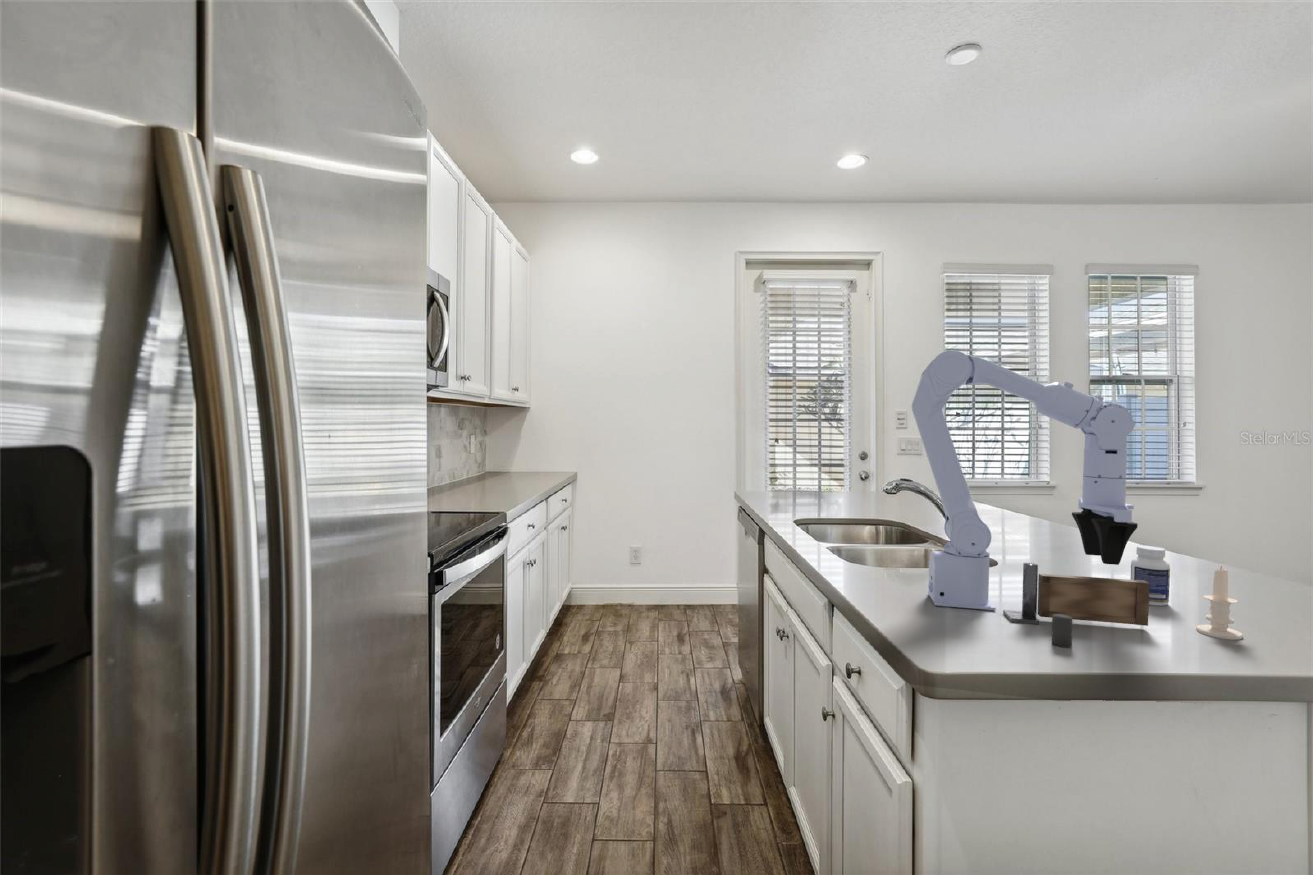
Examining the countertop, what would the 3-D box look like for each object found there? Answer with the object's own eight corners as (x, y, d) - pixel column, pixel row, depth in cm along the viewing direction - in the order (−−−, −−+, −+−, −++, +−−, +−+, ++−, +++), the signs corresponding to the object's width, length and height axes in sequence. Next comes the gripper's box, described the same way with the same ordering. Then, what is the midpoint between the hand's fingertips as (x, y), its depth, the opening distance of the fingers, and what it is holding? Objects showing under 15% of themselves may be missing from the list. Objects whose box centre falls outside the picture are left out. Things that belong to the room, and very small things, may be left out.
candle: (1188, 630, 94) (1191, 563, 94) (1207, 626, 96) (1209, 560, 96) (1231, 642, 90) (1234, 571, 89) (1250, 637, 92) (1252, 568, 91)
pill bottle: (1176, 607, 106) (1178, 551, 105) (1140, 605, 107) (1142, 550, 106) (1157, 598, 111) (1159, 545, 111) (1123, 596, 112) (1125, 543, 112)
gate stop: (1055, 646, 87) (1056, 618, 87) (1049, 640, 89) (1049, 613, 89) (1074, 648, 86) (1075, 620, 86) (1067, 642, 89) (1068, 614, 89)
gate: (1040, 617, 98) (1041, 576, 97) (1037, 613, 99) (1038, 573, 99) (1148, 625, 94) (1149, 583, 94) (1142, 622, 95) (1144, 580, 95)
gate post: (1011, 622, 97) (1012, 566, 97) (1003, 613, 102) (1004, 559, 101) (1040, 624, 96) (1042, 567, 96) (1031, 615, 101) (1033, 561, 100)
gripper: (1156, 482, 92) (1153, 571, 93) (1112, 473, 106) (1109, 551, 107) (1102, 480, 94) (1099, 568, 94) (1065, 472, 108) (1063, 549, 108)
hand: (1101, 559), depth 101 cm, fingers open, 6 cm apart
